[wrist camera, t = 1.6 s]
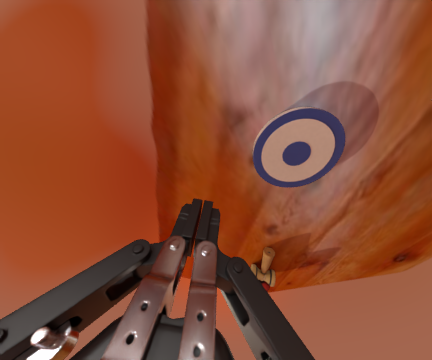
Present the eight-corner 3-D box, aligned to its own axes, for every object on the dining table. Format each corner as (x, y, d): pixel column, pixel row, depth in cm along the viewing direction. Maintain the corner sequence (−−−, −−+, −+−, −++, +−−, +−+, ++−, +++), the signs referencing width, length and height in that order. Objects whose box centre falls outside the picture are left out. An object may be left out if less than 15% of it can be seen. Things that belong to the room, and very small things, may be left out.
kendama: (250, 241, 45) (244, 279, 53) (258, 261, 39) (249, 300, 47) (276, 240, 45) (266, 277, 53) (287, 260, 40) (274, 298, 48)
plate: (361, 115, 23) (368, 117, 22) (313, 189, 31) (316, 193, 30) (267, 99, 23) (268, 100, 22) (244, 176, 31) (244, 180, 30)
